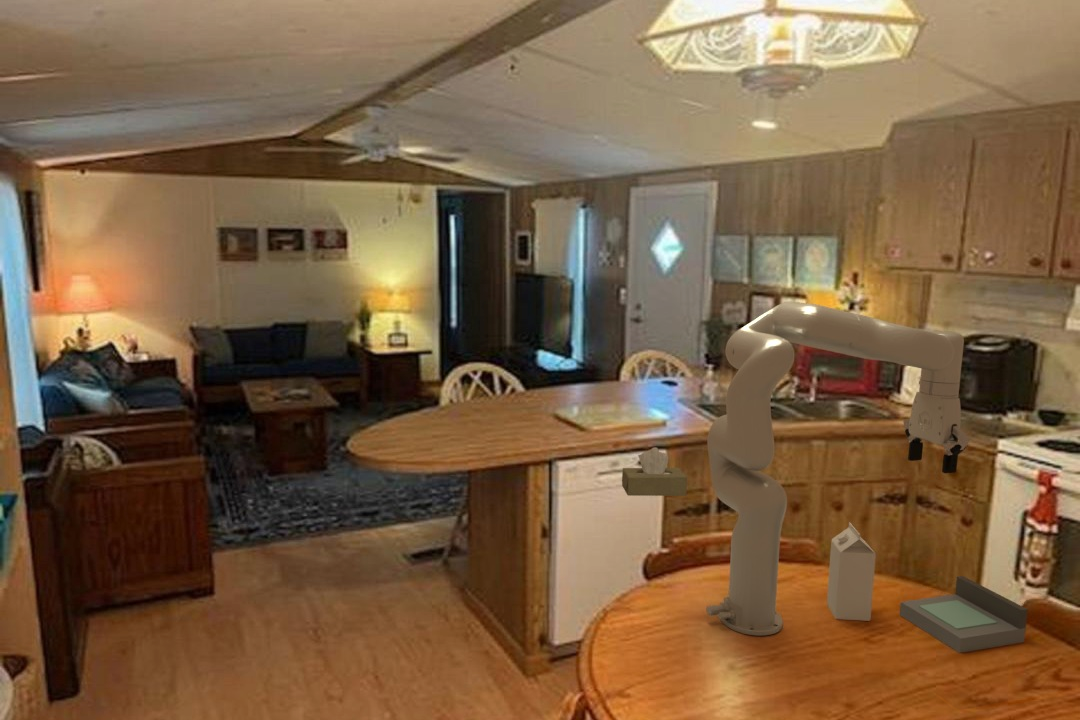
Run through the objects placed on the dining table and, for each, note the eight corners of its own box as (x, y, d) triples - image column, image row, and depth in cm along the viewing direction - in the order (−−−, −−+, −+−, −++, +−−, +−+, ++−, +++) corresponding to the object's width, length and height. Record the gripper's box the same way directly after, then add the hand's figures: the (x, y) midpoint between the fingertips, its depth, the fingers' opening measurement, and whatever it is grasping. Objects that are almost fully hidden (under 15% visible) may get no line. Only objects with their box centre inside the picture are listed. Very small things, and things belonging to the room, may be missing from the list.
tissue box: (678, 491, 245) (680, 443, 243) (687, 501, 236) (689, 451, 234) (620, 492, 244) (622, 444, 242) (626, 502, 234) (628, 452, 232)
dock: (959, 652, 149) (962, 619, 148) (899, 615, 164) (902, 584, 163) (1023, 642, 153) (1027, 609, 152) (959, 606, 168) (962, 576, 167)
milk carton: (859, 606, 168) (866, 523, 165) (870, 622, 161) (877, 535, 158) (826, 604, 168) (832, 521, 166) (835, 619, 161) (842, 533, 159)
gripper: (895, 382, 171) (888, 456, 174) (957, 397, 155) (948, 478, 157) (922, 381, 174) (915, 454, 176) (986, 395, 157) (977, 476, 160)
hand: (931, 466), depth 167 cm, fingers open, 9 cm apart
